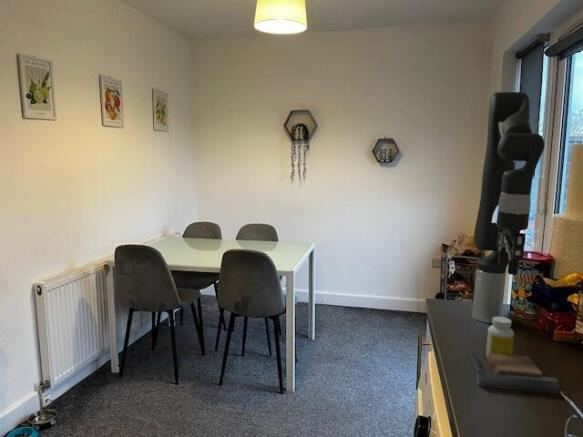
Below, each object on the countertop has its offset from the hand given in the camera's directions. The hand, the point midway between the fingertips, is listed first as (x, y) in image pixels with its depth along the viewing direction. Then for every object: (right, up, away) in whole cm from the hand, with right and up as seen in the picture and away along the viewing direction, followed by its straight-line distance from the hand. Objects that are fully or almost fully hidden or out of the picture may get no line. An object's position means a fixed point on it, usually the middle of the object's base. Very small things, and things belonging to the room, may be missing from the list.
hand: (507, 269), depth 119 cm
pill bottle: (-1, -26, +3) cm, 26 cm away
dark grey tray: (-2, -26, -3) cm, 27 cm away
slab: (-1, -27, -6) cm, 28 cm away
